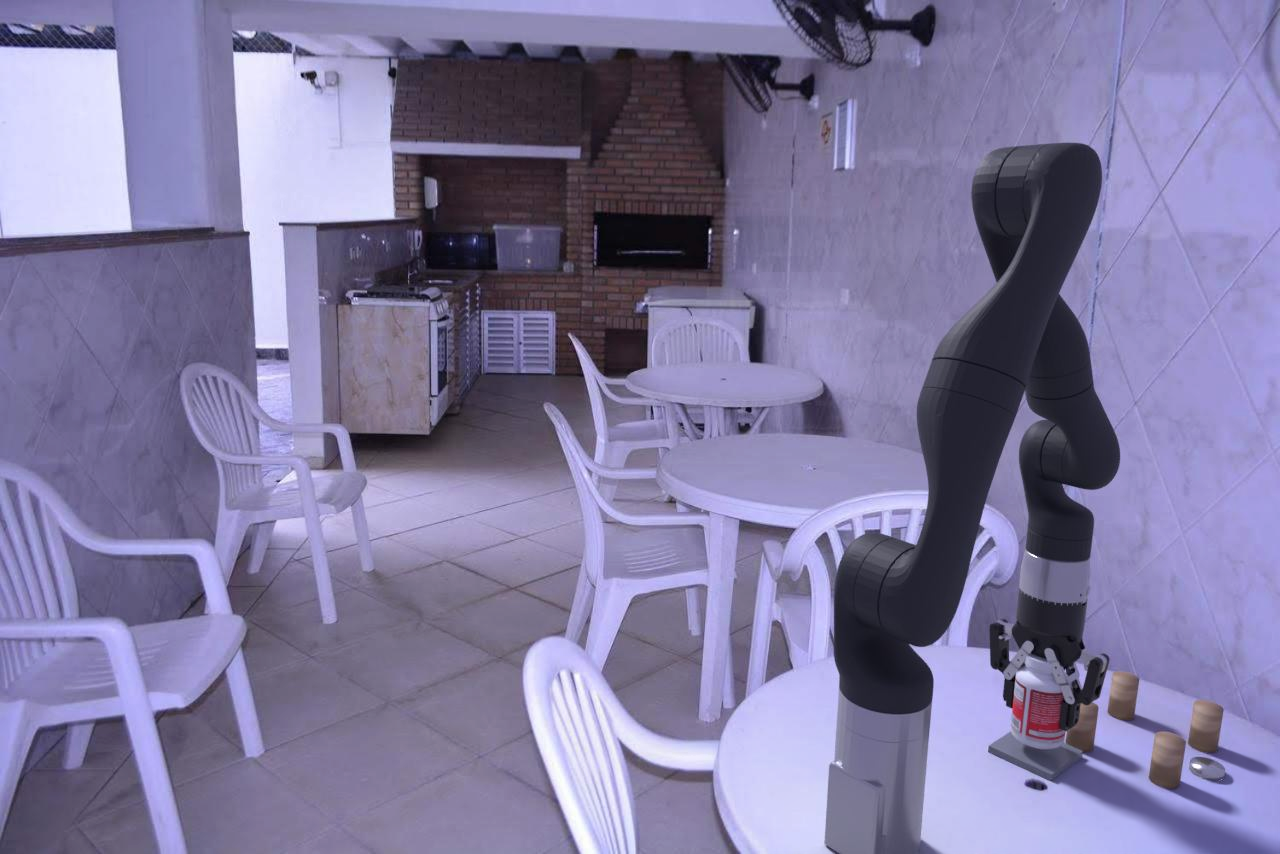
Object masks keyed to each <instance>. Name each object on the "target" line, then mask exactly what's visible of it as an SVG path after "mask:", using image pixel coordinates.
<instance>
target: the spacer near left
mask: <svg viewBox="0 0 1280 854" xmlns="http://www.w3.org/2000/svg"><path fill="white" fill-rule="evenodd" d="M1186 745H1187V742H1186V740H1185V739H1184V738H1183V736H1180V735H1179V734H1175V733H1173V732H1169V731H1157V732H1155V733H1154V737H1153V745H1152V751H1151V758H1150V759H1151V760H1150V766H1149V772H1148V773H1149V774H1148V779H1149V781H1150V783H1152V784H1154V785H1156V786H1157V787H1161V788H1164V789H1167V790H1176V789H1178V788H1180V785H1181V778H1182V772H1183V767H1184V766H1183V765H1184V759H1185V753H1186Z"/></svg>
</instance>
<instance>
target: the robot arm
mask: <svg viewBox="0 0 1280 854" xmlns="http://www.w3.org/2000/svg"><path fill="white" fill-rule="evenodd" d="M1102 169H1103V168H1102V162H1101V159H1100V157H1099V155H1098V153H1097V151H1096V150H1095V149H1093V147H1091V146H1090V145H1088V144H1085V143H1081V142H1053V143H1040V144H1038V143H1037V144H1026V145H1016V146H1007V147H1005V146H1004V147H1001V148H996V149H994V150H991V151H990V152H988V153H987V154H986V155H985V156H984V157H983V158H982V160H981V161H980V162H979V163H978V166H977V167H976V169H975V172H974V175H973V177H972V182H971V192H970V194H971V198H970V199H971V206H972V207H971V208H972V213H973V215H974V217H973V218H974V219H975V220H974V221H975V224H976V227H977V231H978V233H979V238H980V239H981V242H982V245H983V248H984V251H985V254H986V256H987V259H988V261H989V265H990V268H991V270H992V273H993V276H994V279H995V282H996V283H995V284H994V285H993V286H992V287H991V288H990V289H989V290H988V292H986V294H984V295H983V296H982V298H980V299H979V300H978V301H977V302H976V303H975V304H974V305H973V306H972V307H971V308H970V309H969V310H967V311H966V312H965V314H963V315H962V316H961V317H960V318H959V320H957V321H956V322H955V323H954V325H952V327H951V328H950V329H949V330H948V331H947V333H946V334H945V335H944V336H942V337H943V338H942V339H941V340H940V341H939V344H937V347H936V350H935V351H934V354H933V357H932V359H931V362H930V365H929V368H928V370H927V373H926V376H925V379H924V381H923V385H922V388H921V390H920V393H919V396H918V400H917V405H916V424H917V425H916V426H917V431H918V437H919V443H920V447H921V451H922V455H923V462H924V465H925V471H926V476H927V485H928V486H927V487H928V490H927V492H928V493H927V494H928V495H927V505H926V510H925V511H926V512H925V515H924V519H923V523H922V527H921V531H920V534H919V536H918V540H917V542H916V543H915V544H914V543H911V542H908V541H905V540H902V539H899V538H897V537H894V536H891V535H888V534H883V533H879V532H867V533H864V534H861V535H859V536H858V537H856V538H855V539H854V540H853V541H851V542H850V544H849V545H848V547H846V549H845V551H844V553H843V554H842V557H841V558H840V562H839V564H838V566H837V571H836V575H835V581H834V590H833V659H834V663H835V667H836V668H837V673H838V675H839V680H838V682H839V683H838V700H837V712H836V713H837V714H836V729H835V730H836V731H835V745H834V758H833V759H834V760H833V761H832V762H830V763H829V765H828V778H827V779H828V780H827V795H826V796H827V797H826V810H825V813H826V814H825V829H824V845H825V846H827V847H829V848H831V849H832V850H833V851H835V852H836V853H837V854H920V849H921V839H922V829H923V827H922V826H923V814H924V803H925V802H924V801H925V789H926V779H927V778H926V777H927V767H928V765H927V764H928V752H929V741H930V728H931V717H932V709H933V708H932V707H933V696H934V687H935V686H934V685H935V684H934V683H935V682H934V679H935V678H934V676H933V671H932V669H931V668H930V665H929V664H928V663H927V662H926V661H925V660H924V659H923V658H922V657H921V656H920V655H919V654H918V653H917V651H915V650H914V649H913V647H917V648H926V647H929V646H931V645H933V644H935V643H936V642H937V641H939V640H940V639H941V638H942V637H943V636H944V634H945V633H946V632H947V630H948V628H949V627H950V625H951V623H952V622H953V620H954V618H955V616H956V613H957V611H958V608H959V605H960V602H961V599H962V595H963V593H964V590H965V585H966V583H967V577H968V573H969V569H970V565H971V560H972V556H973V553H974V548H975V544H976V541H977V536H978V532H979V529H980V525H981V522H982V521H981V520H982V518H983V517H982V516H983V513H984V509H985V506H986V502H987V500H988V499H987V498H988V496H989V492H990V489H991V486H992V483H993V480H994V478H995V474H996V471H997V468H998V465H999V462H1000V459H1001V457H1002V454H1003V451H1004V448H1005V445H1006V443H1007V439H1008V437H1009V436H1010V433H1011V430H1012V427H1013V425H1014V423H1015V420H1016V416H1017V413H1018V412H1019V409H1020V405H1021V403H1022V399H1023V397H1024V394H1025V400H1026V402H1027V406H1028V407H1029V409H1030V410H1031V411H1032V412H1033V413H1034V414H1035V415H1037V416H1038V417H1040V418H1043V419H1040V420H1037V421H1036V422H1034V423H1032V424H1031V425H1030V426H1029V427H1028V428H1027V429H1026V430H1025V433H1024V434H1023V436H1022V438H1021V440H1020V443H1019V449H1018V463H1019V464H1018V465H1019V470H1020V474H1021V479H1022V480H1021V481H1022V485H1023V492H1024V497H1025V503H1026V508H1027V514H1028V521H1027V530H1026V539H1025V550H1024V553H1023V557H1022V561H1021V565H1020V566H1021V567H1020V575H1019V584H1018V595H1017V603H1016V613H1015V617H1016V622H1014V623H1009V622H1008V620H1007V619H1006V618H1000V619H998V620H997V621H994V622H993V623H991V624H989V656H990V658H989V659H990V660H989V662H990V667H991V668H992V670H995V671H999V672H1000V673H1001V674H1002V675H1003V678H1004V680H1003V692H1002V697H1003V701H1004V702H1005V706H1006V707H1007V708H1010V709H1012V708H1013V698H1014V688H1015V676H1016V672H1017V670H1019V669H1020V668H1021V667H1022V666H1024V665H1025V664H1024V661H1025V660H1026V655H1030V654H1033V655H1035V656H1038V657H1041V658H1044V659H1047V661H1048V662H1049V663H1051V669H1052V672H1053V675H1054V677H1055V680H1056V683H1057V684H1058V685H1059V686H1060V687H1061V690H1062V693H1063V696H1064V699H1065V700H1064V701H1063V702H1062V709H1061V718H1060V726H1059V728H1060V729H1061V730H1064V731H1066V732H1067V730H1069V729H1070V728H1072V727H1074V726H1075V725H1077V723H1078V722H1079V714H1080V706H1081V703H1082V704H1084V705H1089V704H1091V703H1092V702H1093V703H1094V702H1095V701H1096V700H1098V699H1099V698H1100V697H1101V693H1102V689H1103V686H1104V682H1105V678H1106V676H1107V671H1108V667H1109V664H1110V657H1109V655H1108V654H1106V653H1103V652H1102V653H1099V654H1098V653H1095V652H1093V651H1091V650H1089V649H1087V648H1086V645H1085V643H1084V640H1083V636H1084V633H1085V624H1086V617H1087V616H1086V615H1087V607H1088V601H1089V600H1088V598H1089V595H1090V590H1091V586H1090V582H1091V555H1092V554H1091V553H1092V545H1093V538H1094V537H1093V536H1094V528H1095V517H1094V514H1093V512H1092V511H1091V510H1090V509H1089V508H1087V507H1086V506H1084V505H1083V504H1081V503H1079V502H1078V501H1076V500H1074V499H1073V498H1071V497H1070V496H1068V493H1066V491H1065V488H1064V485H1066V486H1069V487H1074V488H1078V489H1082V490H1087V491H1088V490H1089V491H1097V490H1100V489H1103V488H1104V487H1106V486H1108V485H1110V483H1111V482H1112V481H1113V480H1114V479H1115V477H1116V475H1117V474H1118V471H1119V469H1120V464H1121V448H1120V444H1119V440H1118V437H1117V434H1116V431H1115V430H1114V427H1113V424H1112V423H1111V421H1110V419H1109V417H1108V415H1107V413H1106V410H1105V408H1104V407H1103V404H1102V402H1101V400H1100V397H1099V396H1098V393H1097V392H1096V390H1095V385H1094V384H1095V383H1094V375H1093V369H1092V361H1091V354H1090V353H1091V352H1090V347H1089V342H1088V339H1087V335H1086V333H1085V331H1084V329H1083V327H1082V324H1081V322H1080V321H1079V319H1078V318H1077V316H1076V314H1075V313H1074V312H1073V310H1072V309H1071V307H1070V306H1069V305H1068V304H1067V302H1066V301H1065V300H1064V298H1063V297H1062V296H1061V294H1060V292H1061V290H1062V288H1063V285H1064V284H1065V280H1066V279H1067V277H1068V274H1069V272H1070V270H1071V268H1072V266H1073V264H1074V261H1075V259H1076V257H1077V255H1078V253H1079V251H1080V249H1081V247H1082V244H1083V242H1084V240H1085V238H1086V235H1087V233H1088V232H1089V228H1090V227H1091V225H1092V221H1093V218H1094V216H1095V213H1096V211H1097V208H1098V205H1099V201H1100V195H1101V192H1102V186H1103V185H1102V184H1103V183H1102V182H1103V170H1102ZM1012 637H1013V640H1014V641H1015V643H1016V645H1017V647H1018V651H1017V652H1016V654H1015V655H1014V656H1013V657H1012V659H1011V660H1010V642H1009V641H1010V639H1011V638H1012ZM912 646H913V647H912ZM1079 659H1081V660H1082V661H1083V669H1084V670H1085V671H1086V674H1085V678H1084V683H1083V687H1082V684H1081V680H1080V672H1079V669H1078V666H1077V663H1076V662H1077V661H1078V660H1079ZM1064 670H1065V671H1064Z"/></svg>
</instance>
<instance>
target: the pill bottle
mask: <svg viewBox="0 0 1280 854" xmlns="http://www.w3.org/2000/svg"><path fill="white" fill-rule="evenodd" d="M1024 664H1025V665H1024V666H1022V667H1021V668H1020V669H1019V670H1017V672H1016V676H1015V688H1014V698H1013V708H1011V719H1010V720H1011V721H1010V731H1011V733H1012V735H1013V736H1014V737H1015V738H1016V739H1017V740H1018V741H1020V742H1022V743H1023V744H1026V745H1028V746H1030V747H1034V748H1038V749H1054V748H1058V747H1060V746H1061V745H1062V744H1063V743H1065V740H1066V733H1067V731H1064V730H1061V729H1060V728H1059V726H1060V718H1061V709H1062V702H1063V701H1064V700H1065V699H1064V696H1063V693H1062V690H1061V687H1060V686H1059V685H1058V684H1057V683H1056V680H1055V677H1054V675H1053V672H1052V669H1051V663H1049V662H1048V661H1047V659H1044V658H1041V657H1038V656H1035V655H1033V654H1030V655H1026V660H1025V661H1024ZM1064 671H1065V672H1066V669H1065V670H1064Z"/></svg>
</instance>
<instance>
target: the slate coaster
mask: <svg viewBox="0 0 1280 854" xmlns="http://www.w3.org/2000/svg"><path fill="white" fill-rule="evenodd" d="M987 752H988V753H990V754H992V755H995V756H997V757H999V758H1001V759H1003V760H1006V761H1008V762H1009V763H1012V764H1014V765H1016V766H1017V767H1021V768H1022V769H1025V770H1026V771H1029V772H1031V773H1033V774H1035V775H1038V776H1039V777H1042V778H1044V779H1046V780H1048V781H1053V780H1054V779H1055V778H1057V777H1058V776H1059V775H1061V774H1062V773H1063V772H1064V771H1066V770H1068V768H1070V767H1071V766H1072V765H1074V764H1075V763H1076V762H1078V761H1079V760H1080V759H1081V758H1083V755H1084V752H1083V751H1082V750H1079V749H1077V748H1075V747H1072V746H1070V745H1068V744H1066V742H1064V743H1063V744H1062V745H1061V746H1060V747H1058V748H1054V749H1038V748H1034V747H1030V746H1028V745H1026V744H1023V743H1022V742H1020V741H1018V740H1017V739H1016V738H1015V737H1014V736H1013V735H1012V733H1011V730H1010V731H1009V732H1007V733H1006V734H1005V735H1003V736H1001V737H1000V738H998V739H996V740H995V741H993V742H992V743H990V744H989V745H988V750H987Z"/></svg>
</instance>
